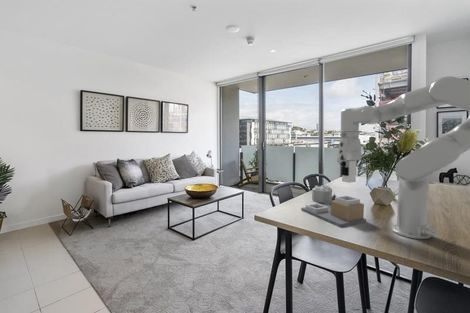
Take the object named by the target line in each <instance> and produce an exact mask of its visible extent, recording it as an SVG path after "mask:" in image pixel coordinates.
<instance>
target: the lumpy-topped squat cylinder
mask: <svg viewBox="0 0 470 313" xmlns="http://www.w3.org/2000/svg"><path fill="white" fill-rule="evenodd" d="M332 197H333V188H331V187H330V186H328V185H326V186H325V185H324V184H323V185H321V186H319V185H315V186H314V187H313V188H312V189H311V201H312V200H313V201H312V202H315V201H317V203H321V204H322V203H323V204H330V201H331V199H332Z"/></svg>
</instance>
